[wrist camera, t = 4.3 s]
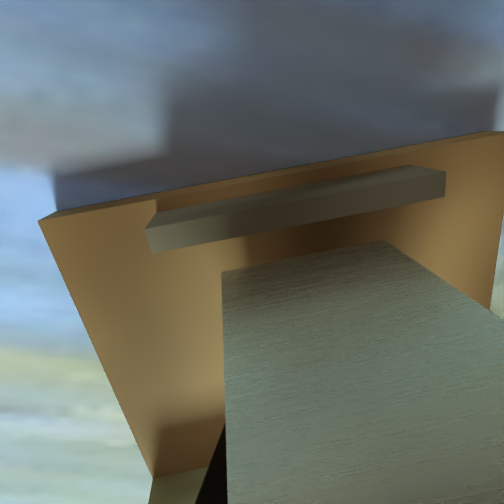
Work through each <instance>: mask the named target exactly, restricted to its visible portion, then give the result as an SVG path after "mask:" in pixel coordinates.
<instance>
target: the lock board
mask: <svg viewBox="0 0 504 504" xmlns="http://www.w3.org/2000/svg"><path fill="white" fill-rule="evenodd" d="M503 213H504V131H485V132H479V133H474V134H469V135H463V136H458V137H453V138H447V139H442V140H437V141H431V142H426V143H420V144H415V145H410V146H404V147H399V148H394V149H388V150H383V151H378V152H372V153H367V154H361V155H356V156H351V157H345V158H340V159H335V160H329V161H324V162H319V163H313V164H308V165H303V166H297V167H292V168H286V169H281V170H276V171H270V172H265V173H260V174H254V175H249V176H244V177H238V178H233V179H228V180H222V181H217V182H211V183H206V184H201V185H195V186H190V187H185V188H179V189H174V190H169V191H163V192H158V193H152V194H147V195H142V196H136V197H131V198H126V199H120V200H115V201H110V202H104V203H99V204H94V205H88V206H83V207H77V208H72V209H67V210H61V211H56V212H54V213H52V214H50V215H48V216H46V217H44V218H42V219H41V220H39V221H38V223H39V225H40V228H41V230H42V232H43V234H44V237H45V239H46V241H47V243H48V245H49V248H50V250H51V252H52V254H53V257H54V259H55V261H56V263H57V266H58V268H59V270H60V272H61V275H62V277H63V279H64V281H65V283H66V286H67V288H68V290H69V292H70V295H71V297H72V299H73V301H74V304H75V306H76V308H77V310H78V313H79V315H80V317H81V319H82V321H83V324H84V326H85V328H86V330H87V333H88V335H89V337H90V339H91V342H92V344H93V346H94V348H95V350H96V353H97V355H98V357H99V359H100V362H101V364H102V366H103V368H104V371H105V373H106V375H107V377H108V380H109V382H110V384H111V386H112V388H113V391H114V393H115V395H116V397H117V400H118V402H119V404H120V406H121V409H122V411H123V413H124V415H125V418H126V420H127V422H128V424H129V426H130V429H131V431H132V433H133V435H134V438H135V440H136V442H137V444H138V447H139V449H140V451H141V453H142V455H143V458H144V460H145V462H146V464H147V467H148V469H149V471H150V473H151V476H152V478H153V481H152V487H151V492H150V498H149V503H148V504H194V502H195V500H196V497H197V495H198V492H199V489H200V487H201V484H202V481H203V479H204V476H205V474H206V471H207V468H208V466H209V463H210V460H211V458H212V455H213V453H214V450H215V447H216V445H217V442H218V439H219V437H220V434H221V431H222V429H223V426H224V424H225V387H224V352H223V317H222V283H221V272H222V271H227V270H232V269H237V268H242V267H247V266H252V265H257V264H263V263H268V262H273V261H278V260H283V259H288V258H293V257H298V256H303V255H308V254H313V253H319V252H324V251H329V250H334V249H339V248H344V247H349V246H354V245H359V244H364V243H369V242H375V241H380V240H385V241H386V242H388V243H389V244H391V245H392V246H394V247H395V248H397V249H398V250H400V251H401V252H403V253H404V254H406V255H407V256H409V257H410V258H412V259H413V260H415V261H416V262H418V263H419V264H421V265H422V266H424V267H425V268H427V269H428V270H430V271H431V272H433V273H434V274H436V275H437V276H439V277H440V278H442V279H443V280H445V281H446V282H448V283H449V284H451V285H452V286H453V287H455V288H456V289H458V290H459V291H461V292H462V293H464V294H465V295H467V296H468V297H470V298H471V299H473V300H474V301H476V302H477V303H479V304H480V305H482V306H483V307H485V308H486V309H488V310H489V308H490V302H491V295H492V288H493V281H494V274H495V268H496V261H497V254H498V247H499V240H500V234H501V227H502V220H503Z"/></svg>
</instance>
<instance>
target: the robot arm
mask: <svg viewBox="0 0 504 504" xmlns="http://www.w3.org/2000/svg"><path fill="white" fill-rule="evenodd" d="M194 504H228V491H227V457H226V422H225V424H224V426H223V429H222V431H221V434H220V437H219V439H218V442H217V445H216V447H215V450H214V453H213V455H212V458H211V460H210V463H209V466H208V468H207V471H206V474H205V476H204V479H203V481H202V484H201V487H200V489H199V492H198V495H197V497H196V500H195V502H194Z"/></svg>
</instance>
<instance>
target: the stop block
mask: <svg viewBox="0 0 504 504" xmlns="http://www.w3.org/2000/svg"><path fill="white" fill-rule="evenodd" d="M221 283H222V317H223V352H224V387H225V422H226V457H227V491H228V504H504V320H503V319H501V318H500V317H498V316H497V315H495V314H494V313H492V312H491V311H489V310H488V309H486V308H485V307H483V306H482V305H480V304H479V303H477V302H476V301H474V300H473V299H471V298H470V297H468V296H467V295H465V294H464V293H462V292H461V291H459V290H458V289H456V288H455V287H453V286H452V285H451V284H449V283H448V282H446V281H445V280H443V279H442V278H440V277H439V276H437V275H436V274H434V273H433V272H431V271H430V270H428V269H427V268H425V267H424V266H422V265H421V264H419V263H418V262H416V261H415V260H413V259H412V258H410V257H409V256H407V255H406V254H404V253H403V252H401V251H400V250H398V249H397V248H395V247H394V246H392V245H391V244H389V243H388V242H386V241H385V240H380V241H375V242H369V243H364V244H359V245H354V246H349V247H344V248H339V249H334V250H329V251H324V252H319V253H313V254H308V255H303V256H298V257H293V258H288V259H283V260H278V261H273V262H268V263H263V264H257V265H252V266H247V267H242V268H237V269H232V270H227V271H222V272H221Z"/></svg>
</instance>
